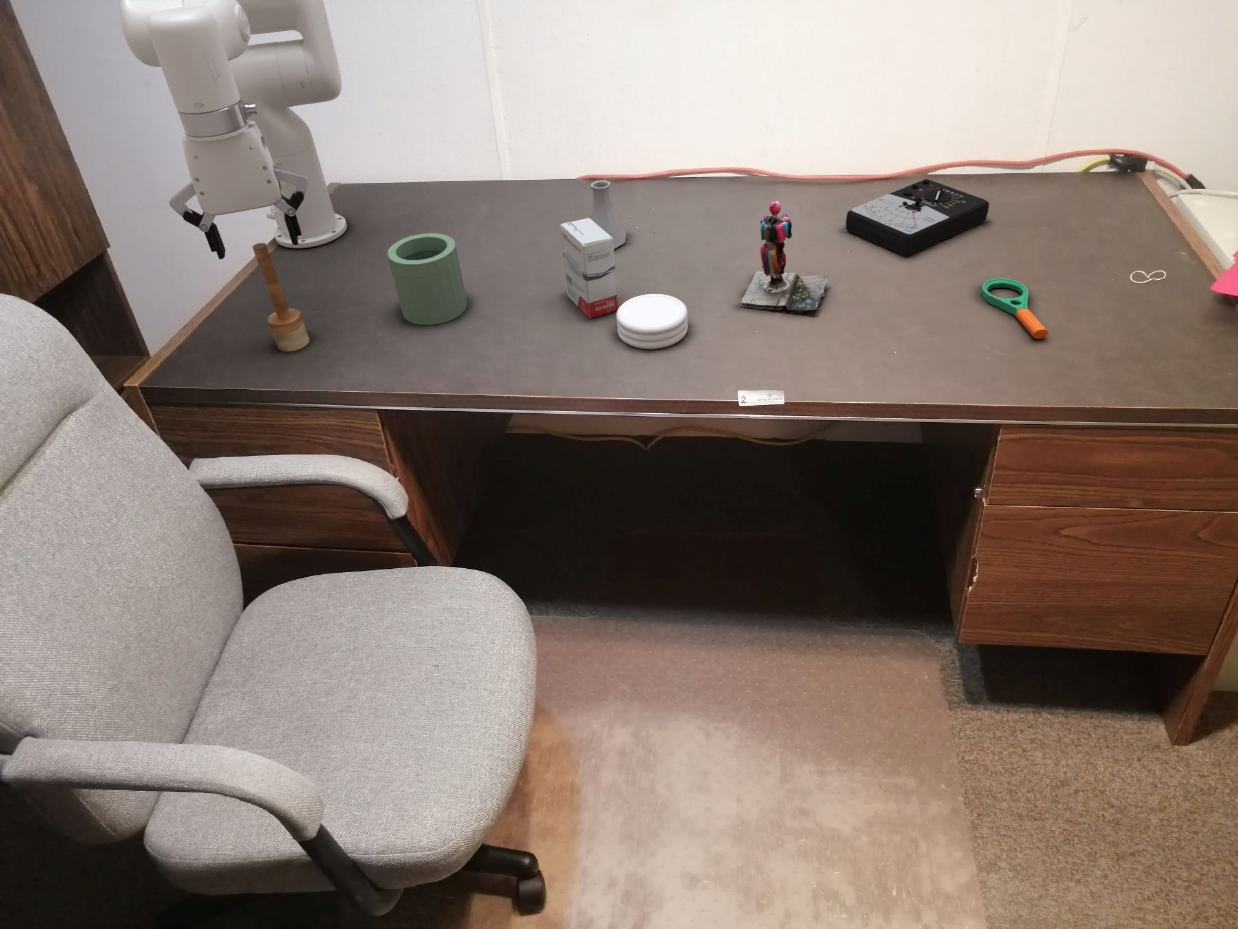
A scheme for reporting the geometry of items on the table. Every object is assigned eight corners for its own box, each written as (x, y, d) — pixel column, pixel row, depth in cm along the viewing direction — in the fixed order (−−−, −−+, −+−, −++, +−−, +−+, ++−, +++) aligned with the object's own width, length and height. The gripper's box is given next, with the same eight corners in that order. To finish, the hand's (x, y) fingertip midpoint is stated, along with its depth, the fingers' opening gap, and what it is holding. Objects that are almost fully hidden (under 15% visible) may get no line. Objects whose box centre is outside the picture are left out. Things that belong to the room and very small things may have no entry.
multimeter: (987, 221, 146) (993, 192, 142) (905, 258, 138) (910, 228, 135) (923, 197, 154) (928, 169, 151) (843, 231, 147) (846, 202, 143)
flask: (577, 248, 148) (570, 190, 142) (594, 230, 153) (588, 173, 147) (617, 253, 146) (612, 194, 140) (633, 234, 151) (629, 176, 145)
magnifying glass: (974, 287, 130) (976, 276, 129) (1015, 283, 130) (1017, 273, 129) (1016, 342, 118) (1019, 331, 117) (1061, 338, 118) (1064, 327, 117)
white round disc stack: (666, 357, 121) (665, 335, 119) (604, 340, 126) (602, 318, 123) (700, 322, 127) (700, 301, 125) (640, 307, 132) (639, 286, 130)
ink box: (619, 310, 132) (614, 236, 124) (589, 320, 130) (581, 245, 123) (595, 287, 138) (588, 214, 130) (566, 295, 136) (557, 223, 129)
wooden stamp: (270, 347, 130) (234, 250, 120) (292, 332, 133) (259, 235, 123) (294, 354, 128) (259, 255, 119) (316, 338, 132) (283, 240, 122)
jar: (389, 318, 135) (373, 257, 128) (428, 288, 141) (415, 229, 135) (442, 330, 131) (428, 268, 124) (479, 299, 137) (468, 238, 131)
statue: (741, 314, 131) (730, 218, 122) (758, 283, 137) (748, 189, 128) (816, 316, 126) (810, 216, 117) (829, 283, 133) (824, 187, 124)
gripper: (285, 99, 115) (322, 225, 125) (144, 122, 111) (194, 249, 122) (286, 116, 109) (325, 246, 120) (137, 140, 106) (191, 272, 116)
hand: (259, 248), depth 121 cm, fingers open, 9 cm apart
